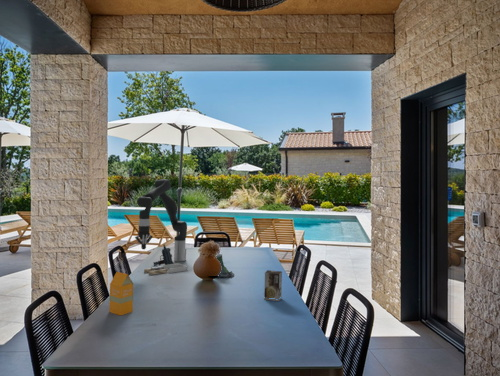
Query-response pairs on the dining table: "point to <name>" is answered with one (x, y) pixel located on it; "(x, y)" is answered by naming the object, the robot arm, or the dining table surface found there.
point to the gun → (165, 257)
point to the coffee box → (273, 285)
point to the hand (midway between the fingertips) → (143, 249)
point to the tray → (173, 266)
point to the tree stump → (224, 269)
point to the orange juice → (121, 294)
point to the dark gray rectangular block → (154, 268)
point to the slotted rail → (155, 271)
